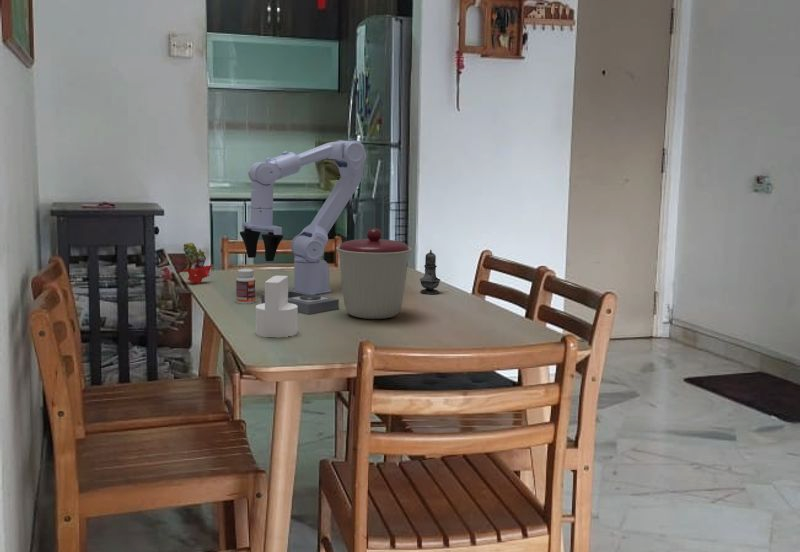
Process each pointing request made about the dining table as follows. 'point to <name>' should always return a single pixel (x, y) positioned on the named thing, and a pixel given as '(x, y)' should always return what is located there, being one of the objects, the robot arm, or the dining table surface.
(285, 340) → the dining table surface
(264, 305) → the base with upright slab
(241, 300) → the pill bottle
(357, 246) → the canister
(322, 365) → the dining table surface
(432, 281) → the salt shaker
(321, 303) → the socket strip
